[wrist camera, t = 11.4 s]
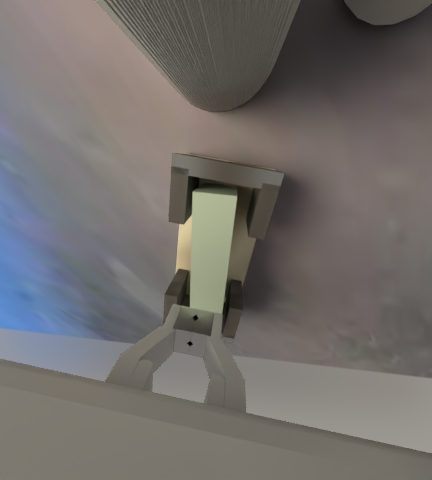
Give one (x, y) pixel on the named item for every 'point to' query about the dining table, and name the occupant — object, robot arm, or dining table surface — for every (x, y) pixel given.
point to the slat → (211, 244)
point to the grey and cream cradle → (244, 230)
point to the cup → (208, 44)
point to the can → (386, 10)
